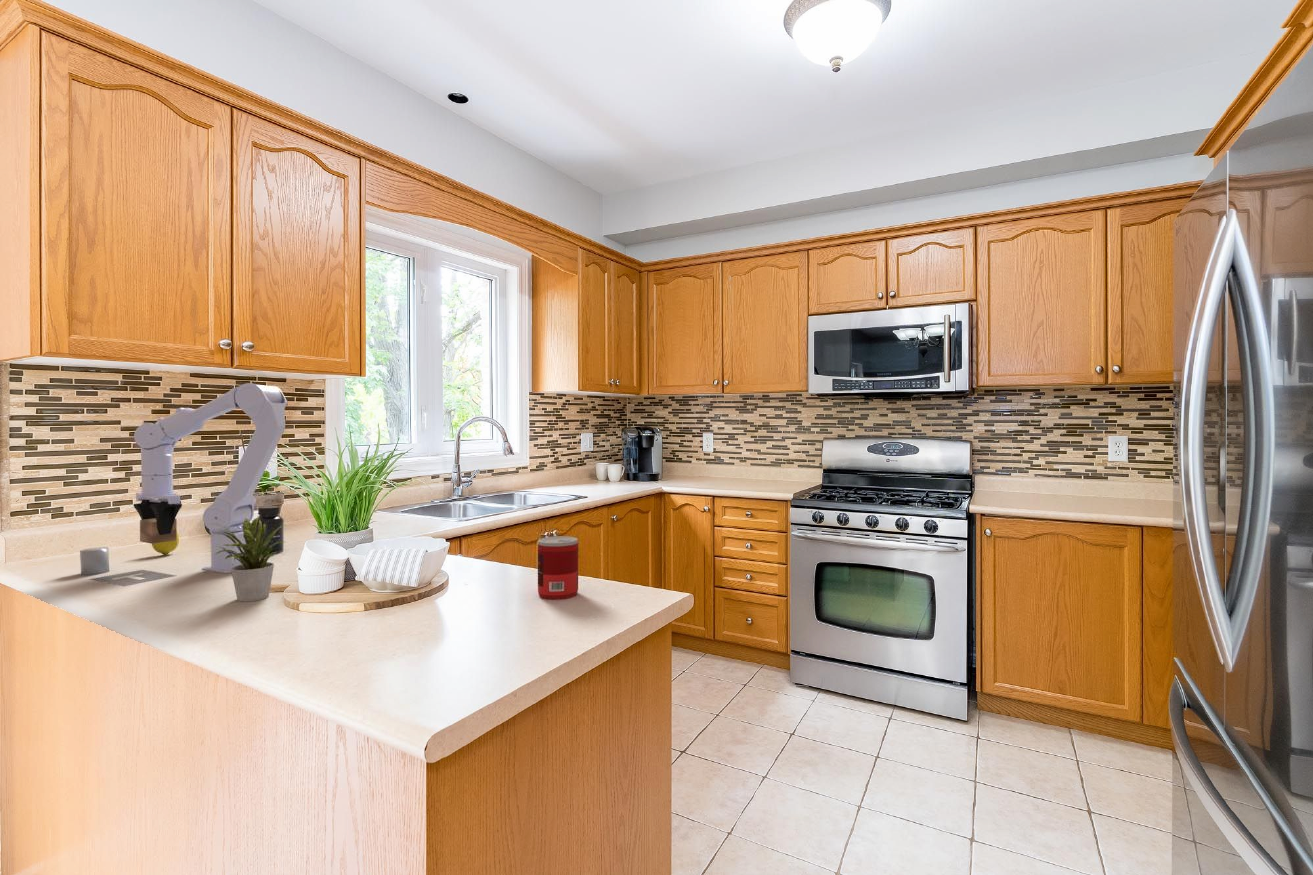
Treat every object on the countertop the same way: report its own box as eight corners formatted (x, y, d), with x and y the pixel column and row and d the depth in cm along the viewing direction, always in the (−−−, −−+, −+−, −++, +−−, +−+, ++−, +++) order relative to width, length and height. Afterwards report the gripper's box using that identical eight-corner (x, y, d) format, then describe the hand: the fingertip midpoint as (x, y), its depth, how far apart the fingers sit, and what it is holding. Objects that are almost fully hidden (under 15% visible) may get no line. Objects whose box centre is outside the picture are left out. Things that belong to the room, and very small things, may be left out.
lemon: (184, 553, 164) (184, 523, 164) (165, 558, 159) (165, 526, 158) (165, 553, 165) (164, 522, 164) (145, 557, 159) (145, 526, 159)
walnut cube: (176, 540, 147) (176, 518, 147) (151, 543, 143) (151, 521, 143) (164, 537, 150) (164, 517, 149) (140, 541, 145) (139, 519, 145)
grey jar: (113, 572, 143) (112, 548, 143) (86, 576, 139) (85, 552, 138) (103, 570, 145) (102, 546, 145) (77, 574, 141) (75, 550, 141)
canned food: (586, 594, 125) (586, 539, 124) (554, 602, 119) (553, 544, 119) (562, 587, 130) (561, 534, 130) (530, 595, 124) (529, 539, 124)
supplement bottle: (273, 554, 162) (273, 508, 162) (247, 554, 163) (247, 508, 162) (289, 549, 169) (289, 505, 169) (264, 549, 169) (263, 505, 169)
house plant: (196, 597, 122) (195, 513, 122) (276, 584, 132) (275, 507, 132) (214, 612, 112) (213, 521, 112) (299, 596, 123) (298, 513, 122)
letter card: (177, 576, 139) (177, 575, 139) (123, 587, 130) (123, 586, 130) (141, 570, 145) (141, 569, 145) (88, 580, 136) (88, 579, 136)
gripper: (120, 475, 146) (121, 533, 146) (154, 477, 139) (155, 538, 139) (155, 473, 152) (156, 529, 152) (189, 475, 146) (190, 533, 146)
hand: (158, 533), depth 146 cm, fingers closed on walnut cube, 5 cm apart
